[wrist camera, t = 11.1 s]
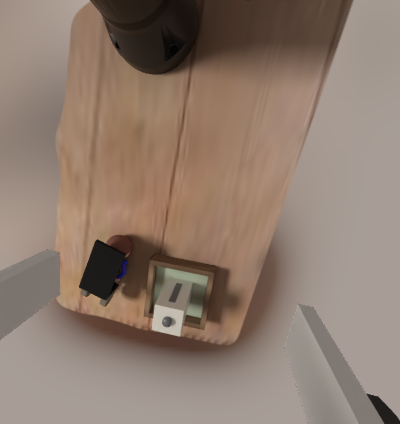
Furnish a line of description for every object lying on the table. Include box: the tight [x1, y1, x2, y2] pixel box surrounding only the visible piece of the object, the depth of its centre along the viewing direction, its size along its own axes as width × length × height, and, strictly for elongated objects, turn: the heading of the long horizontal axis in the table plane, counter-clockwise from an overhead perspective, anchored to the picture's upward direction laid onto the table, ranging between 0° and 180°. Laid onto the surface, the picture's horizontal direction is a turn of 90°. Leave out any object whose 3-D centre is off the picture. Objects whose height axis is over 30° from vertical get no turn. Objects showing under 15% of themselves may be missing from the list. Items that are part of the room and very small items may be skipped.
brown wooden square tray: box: [144, 254, 215, 330], centre depth 43 cm, size 13×13×3 cm
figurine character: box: [79, 235, 132, 307], centre depth 42 cm, size 7×8×15 cm
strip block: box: [152, 277, 193, 336], centre depth 38 cm, size 5×5×10 cm
